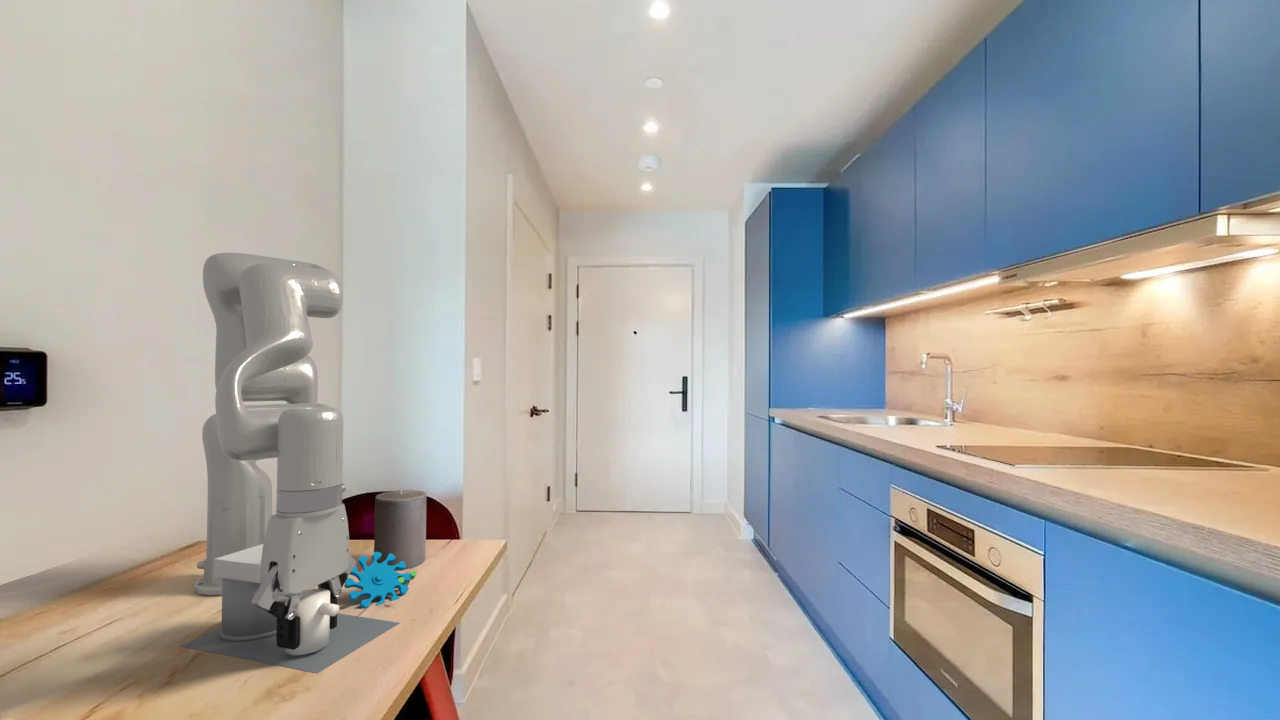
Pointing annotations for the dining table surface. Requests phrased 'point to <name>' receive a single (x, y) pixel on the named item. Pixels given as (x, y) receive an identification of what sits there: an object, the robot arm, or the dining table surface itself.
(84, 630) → the dining table surface
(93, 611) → the dining table surface
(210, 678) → the dining table surface
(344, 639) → the motor stand
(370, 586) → the gear
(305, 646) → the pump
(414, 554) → the pillar candle
